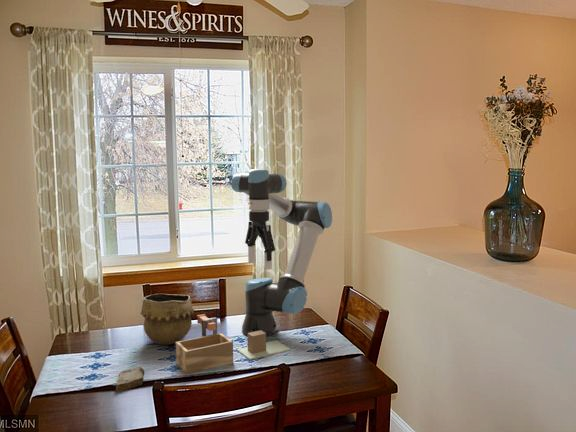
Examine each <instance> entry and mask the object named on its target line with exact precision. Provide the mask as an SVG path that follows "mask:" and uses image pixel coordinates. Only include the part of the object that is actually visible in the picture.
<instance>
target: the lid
mask: <svg viewBox="0 0 576 432" xmlns="http://www.w3.org/2000/svg"><path fill="white" fill-rule="evenodd" d="M289 350H290V351H291V348H290V347H288V346H287V345H285V344H283V343H282V342H280V341H279V340H277V339H276V340H272V341H268V342H267V336H266V333H265V332H263V331H261V330H260V331H255V332H251V333H248V336H247V346H245V347H241V348H236V351H237V352H238V353H239V352H240V353H239V354H241V355H242V356H243V355H244V356H243V357H244V358H245V359H248V360H249V361H252V360H257V359H260V358H265V357H269V356H272V355H276V354H280V353H281V354H282V353H284V352H289Z"/></svg>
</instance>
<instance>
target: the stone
mask: <svg viewBox="0 0 576 432" xmlns="http://www.w3.org/2000/svg"><path fill="white" fill-rule="evenodd" d="M144 376H145V370H144V368H142V366H136V367H132V368H129V369H128V368H127V369H125V370H121V371H119V373H118V377H117V380H116V384H115V392H116V393H122V392H124V391H125V392H126V391H127V390H130V389H133V388H136V387H139V386H142V385H143V383H144Z"/></svg>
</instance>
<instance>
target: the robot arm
mask: <svg viewBox="0 0 576 432" xmlns="http://www.w3.org/2000/svg"><path fill="white" fill-rule="evenodd" d="M287 182H288V181H287V179H286V177H285V176H284V175H283V174H281V173H269V170H268V169H250V170H249V171H248V173H243V172H242V173H236V174H234V175H233V176H232V178H231V182H230V184H231V185H230V186H231V189H232V190H233V191H234V192H236V193H244V194H246V195H247V196H248V209H249V212H248V215H249V217H248V218H249V221H248V227H247V231H246V236H245V241H244V244H245V245H247V252H248V254H247V255H248V256H247V257H248V258H247V259H248V264H254V263H256V241H257V239H258V237H259V238H260V240H261V242H262V245H263V248H264V252H263V257H264V263H263V265H264V266H263V267H264V270H265V271H268V270H273V263H272V262H273V259H272V258H273V252H275V251H276V246H275V244H274V243H275V242H274V239H273V238H274V237H273V235H272V229H271V228H272V227H271V225H270V224H267V222H269V221H270V212H269V209H270V210H271V211H273V213H274V215H275V216H276V217H278V218H280V219H281V220H283V221H284V222H286V223H289V224H291V225H295V226H297V227H299V232H298V235H297V237H296V241H295V244H294V246H293V249H292V252H291V255H290V257H289V260H288V263H287V266H286V269H285V272H284V274H283V275H281V276H280V277H279V278H278V281H277V283H276V282H274V281H273V278H272V277H258V278H253V279H250V280H248V281H247V282H246V283H245V316H244V319H243V322H242V326H241V332H242V334H243V335H245V336H247V337H248V333H251V332H255V331H260V330H261V331H263V332H265V333H266V337H269V336H273V335H274V333H275V332H276V331H278V325H277V323H276V320H275V317H274V314H273V312H275V313H276V312H278V313H284V314H286V315H297V314H300V312H302V310H303V309H304V307H305V306H306V303H307V301H308V300H307V299H308V293H307V290H306V286H305V283H304V280H305V277H306V274H307V271H308V268H309V265H310V262H311V259H312V257H313V252H314V250H315V246H316V244H317V241H318V238H319V236H321V235H322V234H323V233H324V230H325V229H328V228H330V227H331V226H332V224H333V223H332V222H333V211H332V208H331V205H330V204H329V203H328V202H326V201H325V202H324V201H320V200H319V201H307V200H306V201H305V200H292V199H290V198H288V197H283V196H282V195H280V194H279V193H283V191H285V189H286V188H287ZM276 333H277V332H276ZM276 333H275V334H276ZM272 334H273V335H272Z"/></svg>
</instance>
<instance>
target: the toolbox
mask: <svg viewBox="0 0 576 432" xmlns="http://www.w3.org/2000/svg"><path fill="white" fill-rule="evenodd" d="M175 363H176V365H178V367H180V368H181V369H182V370H183V372H184V373H185V374H186V375H187V374H192V373H195V372H201V371H205V370H208V369H212V368H216V367H221V366H225V365H229V364H232V363H234V341H233V340H231V339H230V338H228V337H227V336H226V335H224V333H222V332H217V334H213V333H212V334H209V335H206V336H203V337H202V336H199V337H195V338H194V337H193V338H189V339H184V340H183V339H182V340H180V341H178V342H176V343H175Z"/></svg>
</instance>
